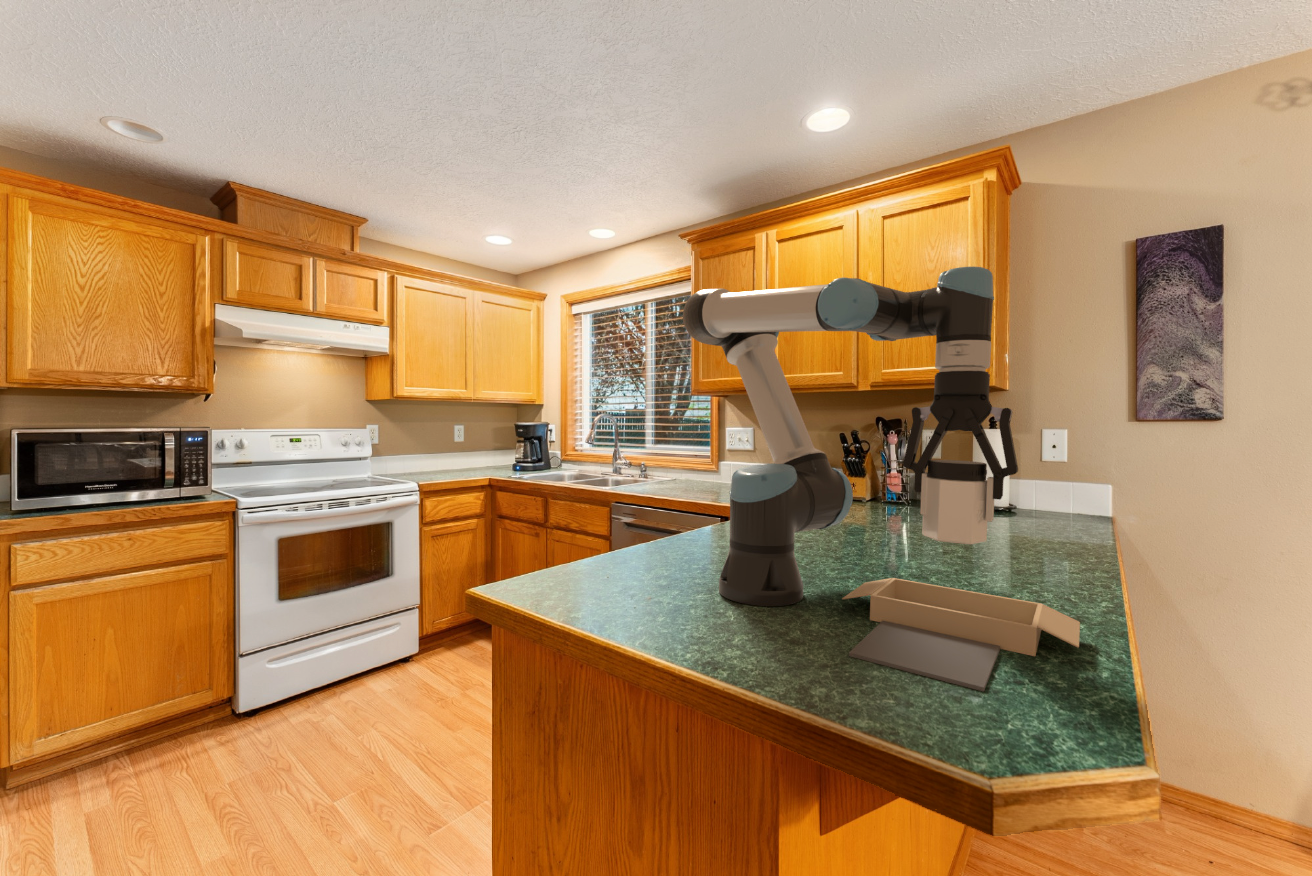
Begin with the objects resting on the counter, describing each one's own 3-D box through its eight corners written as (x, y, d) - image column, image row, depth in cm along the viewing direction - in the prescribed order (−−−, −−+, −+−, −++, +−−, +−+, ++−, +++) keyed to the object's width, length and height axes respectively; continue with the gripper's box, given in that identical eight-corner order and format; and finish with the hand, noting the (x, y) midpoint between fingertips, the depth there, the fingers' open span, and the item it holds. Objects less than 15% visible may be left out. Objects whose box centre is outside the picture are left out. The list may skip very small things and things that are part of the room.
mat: (848, 656, 78) (849, 652, 78) (882, 623, 90) (882, 620, 90) (983, 691, 68) (984, 687, 68) (1000, 649, 81) (1000, 646, 81)
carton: (840, 613, 95) (841, 588, 95) (865, 594, 105) (866, 572, 105) (1078, 665, 76) (1079, 635, 76) (1079, 636, 86) (1080, 609, 86)
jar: (965, 546, 84) (968, 465, 83) (913, 536, 90) (916, 460, 90) (995, 540, 89) (998, 463, 88) (943, 531, 96) (946, 459, 95)
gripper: (884, 371, 92) (879, 512, 93) (1043, 366, 79) (1035, 529, 80) (896, 374, 98) (891, 506, 99) (1045, 370, 85) (1038, 522, 86)
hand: (956, 516), depth 89 cm, fingers closed on jar, 8 cm apart
